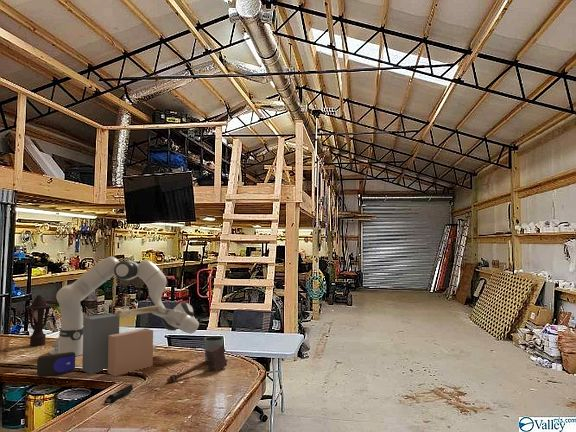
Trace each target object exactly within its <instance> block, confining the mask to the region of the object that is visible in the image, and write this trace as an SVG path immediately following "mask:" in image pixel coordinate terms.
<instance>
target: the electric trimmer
mask: <svg viewBox="0 0 576 432" xmlns="http://www.w3.org/2000/svg"><path fill="white" fill-rule="evenodd" d="M133 389H134V387H133V384H129V385H127V386H125V387H124V388H123V387H122V389H119V390H118V391H116V392H114V393H112V394H109V395H108V396H107V397H106V398H105V400H104V401H103V402H104V404H105V403H113V404H114V403H115V402H116V401H117V400H118V399H119V400H120V398H123V397H125V396H127V395H128V394H130V393H131V392H132V391H133Z"/></svg>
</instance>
